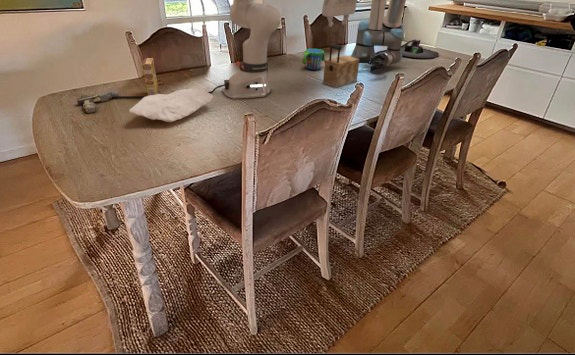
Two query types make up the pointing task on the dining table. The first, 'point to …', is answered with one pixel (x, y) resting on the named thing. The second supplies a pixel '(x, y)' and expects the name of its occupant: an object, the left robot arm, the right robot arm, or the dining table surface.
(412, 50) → the dark round disc
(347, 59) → the lid
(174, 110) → the crumpled cloth
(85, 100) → the handgun
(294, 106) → the dining table surface
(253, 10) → the left robot arm
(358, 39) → the right robot arm
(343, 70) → the chest
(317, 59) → the snack cup
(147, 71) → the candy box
